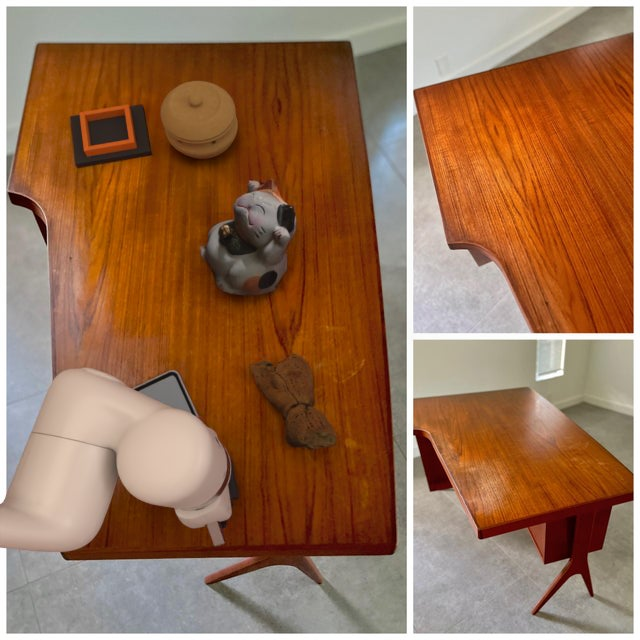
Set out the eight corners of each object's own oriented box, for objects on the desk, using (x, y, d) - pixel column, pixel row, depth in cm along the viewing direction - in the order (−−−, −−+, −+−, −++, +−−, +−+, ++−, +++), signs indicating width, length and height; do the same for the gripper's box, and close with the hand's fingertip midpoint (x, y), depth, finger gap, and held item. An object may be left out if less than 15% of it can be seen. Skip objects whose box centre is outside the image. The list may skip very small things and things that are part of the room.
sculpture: (291, 453, 60) (263, 333, 66) (269, 471, 69) (246, 364, 75) (355, 440, 64) (323, 327, 69) (326, 459, 72) (300, 357, 78)
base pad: (77, 168, 86) (71, 158, 84) (72, 120, 90) (66, 109, 88) (151, 155, 88) (148, 144, 86) (143, 108, 91) (139, 97, 89)
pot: (237, 171, 87) (230, 128, 78) (165, 168, 87) (149, 125, 78) (242, 114, 92) (236, 68, 82) (174, 111, 91) (160, 64, 82)
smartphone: (176, 367, 74) (221, 465, 69) (177, 369, 75) (221, 466, 70) (125, 391, 73) (167, 493, 68) (127, 393, 73) (169, 493, 69)
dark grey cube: (201, 508, 68) (194, 507, 63) (194, 469, 70) (186, 465, 64) (239, 498, 69) (236, 496, 63) (232, 459, 70) (228, 454, 65)
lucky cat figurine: (193, 234, 83) (211, 156, 73) (265, 238, 88) (290, 166, 79) (213, 304, 74) (236, 225, 65) (292, 304, 80) (323, 231, 70)
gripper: (140, 394, 54) (177, 426, 71) (165, 573, 48) (199, 561, 65) (213, 377, 55) (233, 412, 72) (246, 550, 49) (259, 545, 66)
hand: (217, 483), depth 69 cm, fingers closed on dark grey cube, 5 cm apart
